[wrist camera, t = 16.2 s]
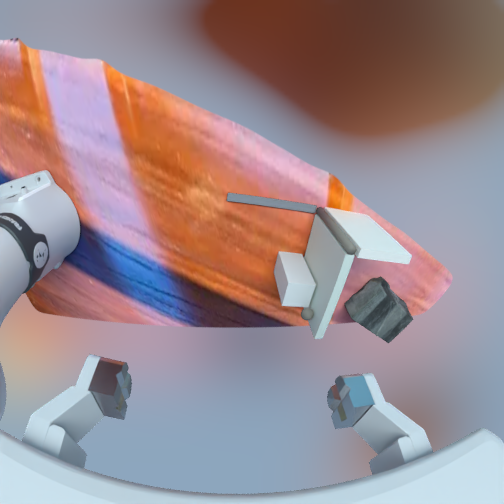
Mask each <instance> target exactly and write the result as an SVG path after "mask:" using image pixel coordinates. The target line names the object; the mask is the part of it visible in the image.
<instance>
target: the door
mask: <svg viewBox="0 0 504 504" xmlns="http://www.w3.org/2000/svg"><path fill="white" fill-rule="evenodd" d="M316 212H317V214H315V218H314V222H313V226H312V230H311V234H310V237H309V241H308V245H307V249H306V253H305V256H304V260H305V262H306V264H307V266H308V268H309V271H310V273H311V275H312V277H313V280H314V282H315V284H316V286H315V289H314V292H313V295H312V298H311V301H310V304H309V307H304V309H303V310H302V312H301V316H302V318H303V319H304V320H308V321H309V325H310V328H311V331H312V334H313V337H314V339H322V338H323V335H324V333H325V331H326V329H327V326H328V324H329V322H330V319H331V318H332V316H333V312H334V310H335V307H336V305H337V302H338V300H339V297H340V294H341V292H342V289H343V287H344V284H345V281H346V279H347V276H348V273H349V270H350V268H351V265H352V262H353V259H354V256H355V255H354V254H355V252H356V250H357V248H356V247H355V245H354V244H353V243H352V242H351V241H350V239H349V238H348V237H347V236H346V235H345V233H344V232H343V231H342V230H341V229H340V227H339V226H338V225H337V224H336V223H335V222H334V220H333V219H332V218H331V217H330V216H329V215H328V214H327V212H326V211H325V210H324V209H323V208H322V207H319V208H317V210H316Z"/></svg>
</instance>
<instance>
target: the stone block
mask: <svg viewBox="0 0 504 504" xmlns="http://www.w3.org/2000/svg"><path fill="white" fill-rule="evenodd" d="M344 304H345V306H346V308H347V311H348V313H349V315H350V317H351V318H352V319H353V320H354V321H356V322H357V323H359V324H360V325H362V326H364V327H365V328H367V329H368V330H369V331H371V332H372V333H374V334H375V335H376V336H379V337H380V338H382V339H383V340H385V341H386V342H387V343H389V342H391V341H392V340H393V339H394V338H395V337H396V336H397V335H398V334H399V333H400V332H401V331H402V330H403V329H404V328H405V327H406V326H407V325H408V324H409V323H410V322H411V321H412V320H413V318H412V316H411V314H410V313H409V311H408V308H407V305H406V303H405V302H404V301H403V300H401V299H400V298H399V297H398V296H397V295H396V294H395V293H394V292H393V291H392V290H391V289H390V286H389V284H388V283H387V282H386V281H385V280H384V279H383V278H382V277H379V278H373V279H371V280H370V281H369V282H368V283H367V284H366V285H365V286H364V287H363V288H362V289H361V290H360V291H358V292H357V293H356V294H354V295H353V296H352V297H351V298H350V299H349V300H348V301H347V302H346V303H344Z"/></svg>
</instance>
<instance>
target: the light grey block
mask: <svg viewBox="0 0 504 504" xmlns="http://www.w3.org/2000/svg"><path fill="white" fill-rule="evenodd" d="M274 275H275V279H276V283H277V287H278V291H279V295H280V299H281V304H282V306H295V307H309V304H310V301H311V298H312V295H313V292H314V289H315V286H316V284H315V282H314V280H313V277H312V275H311V273H310V271H309V268H308V266H307V264H306V262H305V260H304V257H303V255H302V254H298V253H289V252H281V251H279V252H278V256H277V260H276V265H275V269H274Z"/></svg>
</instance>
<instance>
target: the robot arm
mask: <svg viewBox="0 0 504 504" xmlns="http://www.w3.org/2000/svg"><path fill="white" fill-rule="evenodd" d="M39 177H40V179H39ZM79 236H80V223H79V217H78V214H77V211H76V208H75V206H74V204H73V202H72V201H71V199H70V198H69V196H68V195H67V194H66V193H65V192H64V191H63V190H62V189H61V188H60V187H58V186H57V185H56V183H55V182H54V180H53V178H52V176H51V174H50V173H49V172H48V171H47V170H43V171H40V172H36V173H33V174H30V175H27V176H24V177H21V178H18V179H15V180H12V181H9V182H7V183H4V184H2V185H0V326H1V324H2V322H3V320H4V318H5V316H6V315H7V314H8V312H9V310H10V309H11V308H12V306H13V305H14V304H15V302H16V301H17V300H18V298H19V297H20V296H21V294H23V293H26V292H27V291H28V290H29V289H30V288H32V287H33V286H34V285H35V283H36V282H37V281H39V280H40V279H41V278H43V277H44V276H45V275H46V274H47V273H48V272H49V271H50V270H52V269H53V268H54V269H57V268H59V267H60V266H61V264H62V262H63V260H64V258H65V257H66V256H67V255H69V254H70V253H71V252H72V251H73V250H74V249H75V248H76V246H77V244H78V241H79ZM127 371H128V365H127V363H126V362H121V361H116V360H112V359H108V358H104V357H100V356H96V355H92V354H90V355H89V356H88V357H87V359H86V361H85V364H84V366H83V368H82V371H81V373H80V376H79V378H78V381H77V383H76V386H75V387H74V386H71V387H70V388H68V389H67V390H65V391H64V392H63V393H61V394H60V395H58V396H57V397H55V398H54V399H53V400H51V401H50V402H48V403H47V404H45V405H44V406H42V407H41V408H40V409H38V410H37V411H35V412H34V413H32V415H31V417H30V420H29V423H28V426H27V428H26V431H25V434H24V437H23V439H22V441H20V440H18V439H17V438H15V437H13V436H11V435H10V434H8V433H6V432H4V431H3V430H1V429H0V504H504V444H503V442H502V441H501V439H500V438H499V437H498V436H496V435H495V434H493V433H492V432H490V431H489V430H487V429H485V428H480V429H478V430H476V431H474V432H472V433H471V434H469V435H467V436H465V437H463V438H461V439H460V440H458V441H456V442H454V443H452V444H450V445H448V446H446V447H444V448H442V449H440V450H438V451H435V452H433V450H432V448H431V445H430V443H429V440H428V438H427V436H426V433H425V431H424V429H422V428H421V427H420V426H419V425H417V424H416V423H414V422H413V421H412V420H411V419H409V418H408V417H407V416H405V415H404V414H403V413H401V412H400V411H399V410H398V409H396V408H395V407H394V406H392V405H391V404H390V403H389V402H388V403H386V402H385V400H384V398H383V395H382V393H381V391H380V388H379V386H378V384H377V381H376V379H375V377H374V375H373V374H372V373H366V374H354V375H343V376H339V377H337V378H336V380H335V383H336V384H335V385H334V386H332V387H331V388H330V390H329V391H328V396H327V401H328V406H329V408H330V409H332V410H333V414H332V416H331V417H332V420H333V424H334V427H335V429H337V428H346V427H353V429H354V430H355V431H356V432H357V433H358V434H359V435H360V436H361V437H362V438H363V439H364V440H365V441H366V442H367V443H368V444H369V446H370V447H371V448H372V449H373V450H374V451H375V452H376V453H377V454H378V455H377V456H376V457H374V458H373V459H371V461H370V462H369V464H370V468H371V471H372V475H370V476H367V477H363V478H359V479H355V480H351V481H347V482H343V483H338V484H333V485H328V486H323V487H317V488H310V489H304V490H296V491H287V492H275V493H259V494H217V493H199V492H189V491H180V490H171V489H165V488H159V487H153V486H148V485H143V484H137V483H133V482H129V481H125V480H121V479H117V478H113V477H110V476H106V475H102V474H99V473H96V472H93V471H90V470H87V469H84V465H85V460H86V456H87V455H86V453H85V451H84V450H83V449H82V448H81V447H80V446H79V445H78V444H77V442H79V440H80V439H82V438H83V437H84V436H85V435H86V434H87V433H88V432H89V431H90V430H91V429H92V428H93V427H94V426H95V425H96V424H97V423H98V422H99V421H100V420H101V419H102V418H103V417H104V416H108V417H113V418H117V419H122V420H124V418H125V414H126V409H127V404H126V401H125V400H126V399H127V398H129V397H130V393H131V384H132V383H131V376H130V374H129V373H128V372H127ZM5 404H6V383H5V377H4V373H3V370H2V366H1V363H0V420H1V418H2V416H3V413H4V409H5Z"/></svg>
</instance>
